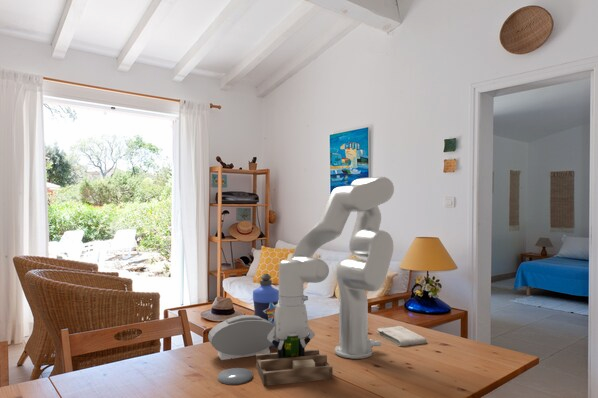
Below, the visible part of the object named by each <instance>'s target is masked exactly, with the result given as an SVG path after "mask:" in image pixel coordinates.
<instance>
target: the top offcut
mask: <svg viewBox="0 0 598 398" xmlns="http://www.w3.org/2000/svg"><path fill="white" fill-rule="evenodd" d="M308 367H315V362H314V360H313V359H310V360H295V361H293V369H298V368H308Z"/></svg>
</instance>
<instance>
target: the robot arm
mask: <svg viewBox="0 0 598 398" xmlns="http://www.w3.org/2000/svg"><path fill="white" fill-rule="evenodd" d="M394 191H395V185H394V183H393V181H392V180H391V179H390V178H388V177H385V176H374V177H373V176H372V177H360V178H357V179H355V180H353V181H352V182H351V183H350V185H342V186H337V187H335V188H333V190H332V191H331V193H330V194H329V197H328V199H327V200H326V201H327V202H325V205H324V208H323V210H322V212H321V214H320V217H319V219H318V221H317V223H316V224H315V225H314V226H313V227H312V228H311V229H309V231H307V233H306V234H305V235H304V236H303V237H302V238H301V239H300V241H299V242H298V243H297V245H296V247H295V248H294V251H293V253H292V255H291V258H289V259H282V260H281V261H279V263H278V290H279V300H278V304H277V305H276V308H275V315H274V328H273V329H272V330H271V331H270V333H269V334H268V335H267V337H266V338H267V339H268V340H269V341H270V342H271V343H273V344H274V345H275V346H274V347H276V348H277V351H276V353H277V358H278V359H280V358H284V350H283V349H282V346H283V343H284V340H286V339H287V336H288V335H289V334H291V333H290V332H296V334H297V335H298V338H299V339H300V357H302V356H305V350H306V349H305V348H306V347H307V345H308V344H309V342H310V341H311V340H312V339H313V338H314V337H315V336H316V333H315V332H314V331H313V330H312V329H311V327H310V326H309V323H308V322H309V320H308V311H307V307H306V303H305V302H306V301H309V296H308V295H305V294H304V283H313V284H317V283H321V282H324V281H325V280H326V279H327V278H328V276H329V274H330V268H329V265H328V263H327V262H326V261H325V260H323V259H321V258H316V257H313V256H314V255H315V253H316V252H317V251H318V250H319V248H321V247H322V246H323V245H325V244H328V243H329V242H331V241H334V240H335V239H337V238H338V237H340V236H341V235H342V233H343V230H344V228H345V225H346V223H347V221H348V219H349V216H350V214H351V213H352V212H354V213H355V212H357V214H356V218H355V222H354V226H353V229H352V232H351V235H350V240H349V246H348V248H349V251H350V252H351V253H352V255H354V256H357V257H362V258H367V259H366V260H365V259H359V258H358V259H356V258H346V259H343V260H342V261H341V262H340V263H339V264H338V265H337V268H336V271H335V272H336V281H337V286H338V295H339V296H338V298H339V299H338V300H339V304H338V305H339V306H338V307H339V309H338V310H339V312H338V313H339V318H338V320H339V321H338V325H339V340H338V341H339V344H338V345H336V346H335V348H334V353H335V355H337V356H339V357H342V358H346V359H355V360H356V359H358V360H359V359H366V358H370V356H372V355H373V349H372V348H373V347H381V346H382V341H381V340H380V339H379V340H375V339H374V338H373V339H370V338H369V334H368V332H369V331H368V327H369V326H368V325H369V323H368V321H369V319H368V318H369V317H368V315H369V314H368V312H369V311H368V309H369V308H368V307H369V306H368V305H369V301H368V296H367V293H366V291H367V292H377V291H379V290H380V289H381V288H382V287H383V286H384V283H385V281H386V278H387V274H388V272H389V268H390V265H391V261H392V257H393V253H394V240H393V238H392V235H390V233H389V232H387V231H385V230H382V229H380V227H381V223H382V213H381V210H380V208H379V206H380V205H382V204H385V203H386V202H388V201H390V199H392V197H393V195H394ZM274 335H275V336H276V338H277V339H278V340H277V341H276V340H275V339H274V338H273V336H274Z"/></svg>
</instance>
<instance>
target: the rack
mask: <svg viewBox="0 0 598 398" xmlns="http://www.w3.org/2000/svg"><path fill="white" fill-rule="evenodd" d="M310 359H313V360H314V362H315V367H308V368H298V369H293V361H295V360H310ZM255 369H256V370H257V373H258V375H259V377H260V381H261V382H262V385H263V387H265V386H267V387H268V386H276V385H285V384H296V383H305V382H313V381H323V380H331V379H332V380H333V365H331V364H329V363H328V355H327V354H321V353H320V349H319V348H316V349H315V348H313V349H305V356H302V357H291V358H280V359H278V358H277V352H270V353H267V354H256V355H255Z"/></svg>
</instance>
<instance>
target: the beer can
mask: <svg viewBox="0 0 598 398" xmlns="http://www.w3.org/2000/svg"><path fill="white" fill-rule="evenodd" d="M290 333H291V334H289V335H288V336H287V339H286V340H284V343H283V346H282V349H283V350H284V358H291V357H300V339H299V338H298V335H297V334H296V332H290Z"/></svg>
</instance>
